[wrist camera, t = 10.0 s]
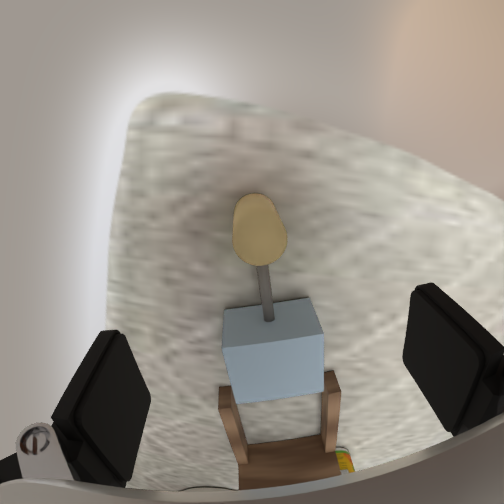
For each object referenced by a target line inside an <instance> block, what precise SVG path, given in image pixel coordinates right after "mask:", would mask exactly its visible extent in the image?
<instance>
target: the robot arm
mask: <svg viewBox="0 0 504 504" xmlns="http://www.w3.org/2000/svg"><path fill="white" fill-rule="evenodd" d="M503 354H504V346H503V345H502V344H501V343H500V342H498V341H497V340H496V339H495V338H494V337H493V336H492V335H491V334H490V333H489V332H488V331H487V330H486V329H485V328H484V327H483V326H482V325H481V324H479V323H478V322H477V321H476V320H475V319H474V318H473V317H472V316H471V315H470V314H469V313H467V312H466V311H465V310H464V309H463V308H462V307H461V306H460V305H458V304H457V303H456V302H455V301H454V300H453V299H452V298H450V297H449V296H448V295H447V294H446V293H445V292H443V291H442V290H441V289H440V288H439V287H438V286H436V285H435V284H434V283H427V284H422V285H418V286H416V288H415V291H413V292H412V293H411V298H410V307H409V315H408V323H407V330H406V337H405V343H404V349H403V362H404V365H405V366H406V368H407V369H408V371H409V372H410V374H411V376H412V377H413V379H414V380H415V382H416V383H417V385H418V386H419V388H420V390H421V391H422V393H423V394H424V396H425V397H426V399H427V401H428V402H429V404H430V406H431V407H432V409H433V410H434V412H435V414H436V415H437V417H438V419H439V420H440V422H441V424H442V425H443V427H444V429H445V430H446V431H447V432H451V433H452V435H453V437H452V438H450V439H448V440H446V441H443V442H441V443H439V444H436V445H434V446H431V447H429V448H426V449H424V450H421V451H419V452H416V453H413V454H411V455H408V456H405V457H402V458H399V459H396V460H393V461H390V462H387V463H384V464H380V465H377V466H374V467H370V468H367V469H363V470H359V471H356V472H352V473H348V474H344V475H339V476H335V477H330V478H326V479H321V480H316V481H310V482H305V483H299V484H293V485H286V486H278V487H270V488H261V489H251V490H237V491H233V490H228V489H222V488H204V487H203V488H192V489H187V490H184V491H181V492H175V491H156V490H143V489H132V488H125V486H126V482H127V481H130V480H131V478H132V474H133V470H134V465H135V461H136V457H137V453H138V449H139V445H140V441H141V437H142V433H143V429H144V425H145V422H146V418H147V414H148V410H149V407H150V403H151V396H150V392H149V390H148V388H147V386H146V384H145V381H144V379H143V377H142V375H141V373H140V370H139V368H138V366H137V363H136V361H135V359H134V356H133V354H132V351H131V349H130V346H129V344H128V341H127V339H126V337H125V335H124V334H121V333H120V332H119V331H118V330H106V331H101V332H100V333H99V335H98V336H97V338H96V339H95V341H94V342H93V344H92V346H91V347H90V349H89V351H88V352H87V354H86V356H85V357H84V359H83V361H82V363H81V365H80V366H79V367H78V369H77V371H76V373H75V374H74V376H73V378H72V380H71V382H70V383H69V385H68V387H67V389H66V390H65V392H64V394H63V396H62V397H61V399H60V401H59V403H58V405H57V407H56V409H55V410H54V412H53V414H52V416H51V418H52V420H53V421H54V422H53V424H52V426H50V425H48V424H46V423H35V424H31V425H29V426H28V427H26V428H25V429H24V430H23V431H22V432H21V433H20V434H19V436H18V438H17V441H16V451H17V452H16V453H14V454H12V455H10V456H8V457H6V458H4V459H2V460H0V504H504V355H503Z"/></svg>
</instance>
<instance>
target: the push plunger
mask: <svg viewBox="0 0 504 504" xmlns="http://www.w3.org/2000/svg"><path fill="white" fill-rule="evenodd" d="M232 243H233V248H234V250H235V252H236V254H237V255H238V257H239V258H240V259H242V260H243V261H244V262H246V263H248V264H251V265H256V266H257V273H258V280H259V287H260V294H261V302H262V305H257V306H249V307H242V308H234V309H226V310H224V319H223V334H222V352H223V356H224V360H225V364H226V368H227V371H228V375H229V379H230V383H231V387H232V390H233V394H234V398H235V402H236V404H242V403H251V402H260V401H268V400H275V399H282V398H289V397H295V396H301V395H307V394H313V393H318V392H323V391H324V332H323V330H322V327H321V325H320V322H319V320H318V317H317V315H316V312H315V310H314V307H313V305H312V302H311V300H310V298H304V299H298V300H291V301H284V302H278V303H273V300H272V292H271V284H270V276H269V268H268V264H270V263H272V262H274V261H276V260H277V259H278V258H279V257H280V256H281V255H282V254H283V252H284V251H285V248H286V245H287V233H286V230H285V228H284V225H283V223H282V221H281V219H280V217H279V215H278V213H277V211H276V209H275V206H274V204H273V203H272V201H271V200H270V199H269V198H268V197H266V196H264V195H262V194H258V193H253V194H248V195H246V196H244V197H242V198H241V199H240V200H239V201H238V202H237V204H236V206H235V209H234V218H233V236H232Z"/></svg>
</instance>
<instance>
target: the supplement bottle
mask: <svg viewBox="0 0 504 504" xmlns="http://www.w3.org/2000/svg"><path fill="white" fill-rule="evenodd" d="M335 452H336V456H337V459H338V463H339V467H340V471H341V475H344V474H348V473H352V472H355V470H354V467H353V463H352V460H351V457H350V454H349V451H348V450H347V449H345V448H336V449H335Z"/></svg>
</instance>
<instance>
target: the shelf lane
mask: <svg viewBox="0 0 504 504" xmlns="http://www.w3.org/2000/svg"><path fill="white" fill-rule="evenodd" d="M340 400H341V389H340V387H339V384H338V381H337V378H336V376H335V373H334V371H329V372H324V391H323V392H322V409H321V434H320V435H314V436H309V437H303V438H297V439H291V440H284V441H276V442H269V443H260V444H250V445H248V444H247V440H246V437H245V434H244V430H243V427H242V423H241V420H240V416H239V412H238V409H237V405H236V402H235V398H234V394H233V390H232V387H231V386H224V387H219V403H218V410H219V413H220V416H221V419H222V422H223V424H224V427H225V430H226V433H227V436H228V438H229V441H230V444H231V447H232V449H233V452H234V455H235V457H236V460H237V462H238V470H239V490H251V489H261V488H270V487H278V486H286V485H293V484H299V483H305V482H310V481H316V480H321V479H326V478H330V477H335V476H339V475H341V471H340V467H339V463H338V459H337V456H336V452H335V449H336V440H337V432H338V422H339V412H340Z"/></svg>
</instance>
